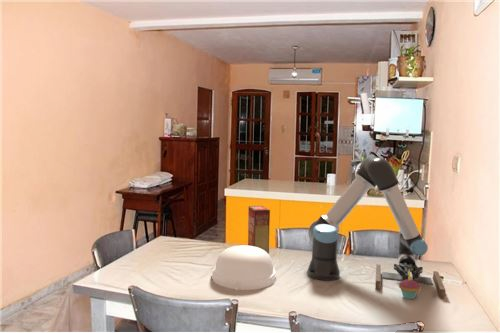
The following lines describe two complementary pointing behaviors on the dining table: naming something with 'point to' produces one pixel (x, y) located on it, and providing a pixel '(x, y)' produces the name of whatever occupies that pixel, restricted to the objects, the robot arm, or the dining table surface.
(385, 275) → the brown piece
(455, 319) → the dining table surface
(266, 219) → the food packaging
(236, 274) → the dome cover
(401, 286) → the cupcake
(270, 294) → the dining table surface
